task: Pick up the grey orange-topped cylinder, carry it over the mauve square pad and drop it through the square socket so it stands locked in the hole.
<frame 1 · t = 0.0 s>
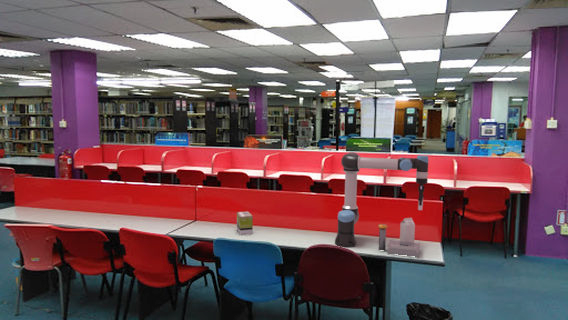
hand: (420, 208, 270), 28 cm above the table, fingers open, 13 cm apart
milk carton: (406, 244, 280), on the table
grey orange-topped cylinder: (381, 250, 264), on the table
tea box: (244, 232, 305), on the table
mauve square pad: (403, 251, 262), on the table
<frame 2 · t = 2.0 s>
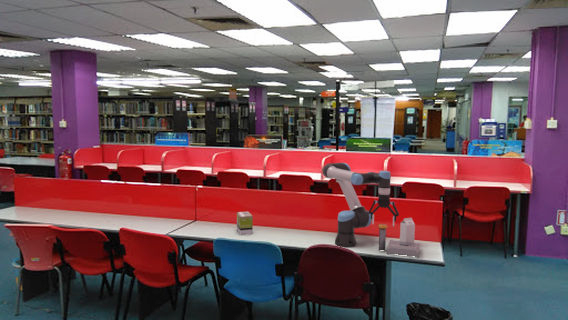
hand: (383, 224, 263), 18 cm above the table, fingers open, 13 cm apart
nothing on the table moved.
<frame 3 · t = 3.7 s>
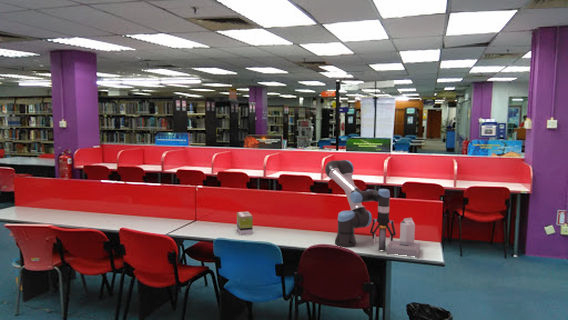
hand: (382, 244, 264), 4 cm above the table, fingers open, 10 cm apart
nothing on the table moved.
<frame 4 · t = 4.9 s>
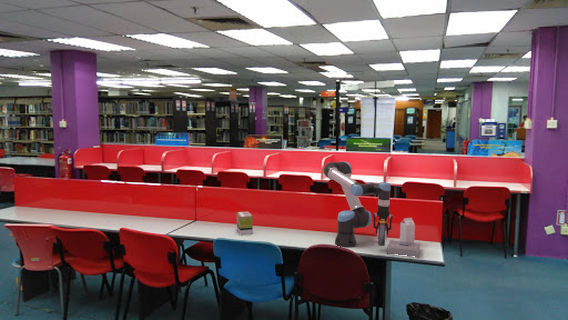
hand: (381, 238, 264), 8 cm above the table, fingers closed on grey orange-topped cylinder, 4 cm apart
grey orange-topped cylinder: (381, 245, 265), point 3 cm above the table, touching gripper
everything else where it was.
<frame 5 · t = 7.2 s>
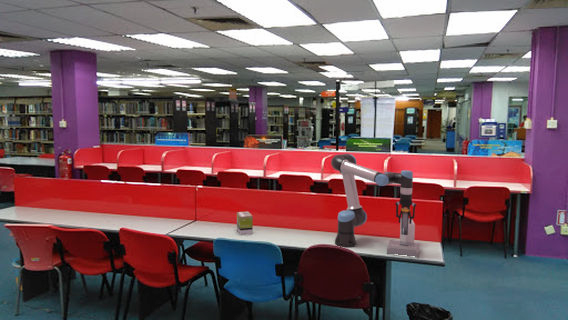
hand: (404, 227, 261), 16 cm above the table, fingers closed on grey orange-topped cylinder, 4 cm apart
grey orange-topped cylinder: (404, 234, 261), point 12 cm above the table, touching gripper
everything else where it was.
when the fingers open (5 cm above the table, at t = 9.7 s): grey orange-topped cylinder drops 1 cm, resting in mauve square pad.
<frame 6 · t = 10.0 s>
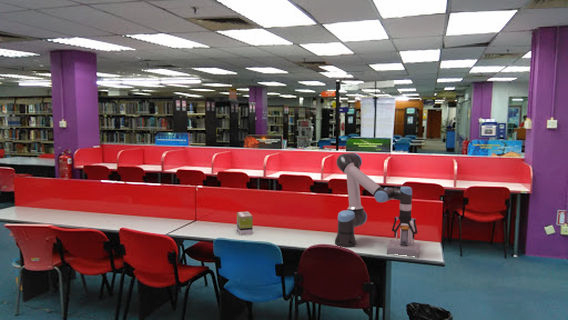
hand: (404, 242, 262), 6 cm above the table, fingers open, 9 cm apart
grey orange-topped cylinder: (403, 251, 262), resting in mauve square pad
everything else where it was.
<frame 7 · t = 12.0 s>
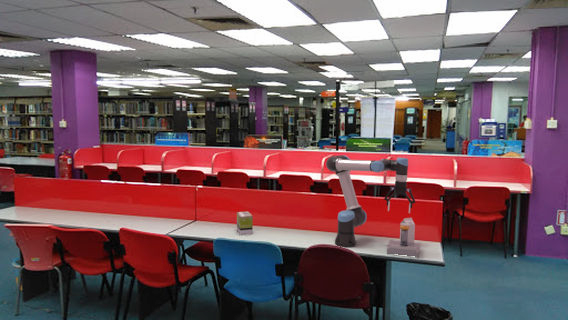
hand: (398, 211, 263), 27 cm above the table, fingers open, 13 cm apart
nothing on the table moved.
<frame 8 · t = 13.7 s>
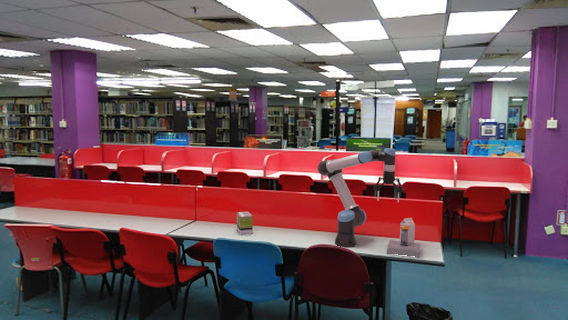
hand: (388, 201, 268), 33 cm above the table, fingers open, 13 cm apart
nothing on the table moved.
at the end: grey orange-topped cylinder 0.1 cm off-centre on the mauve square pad, point 0.0 cm above the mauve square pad's base; grey orange-topped cylinder tilted 1°; the gripper is holding nothing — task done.
